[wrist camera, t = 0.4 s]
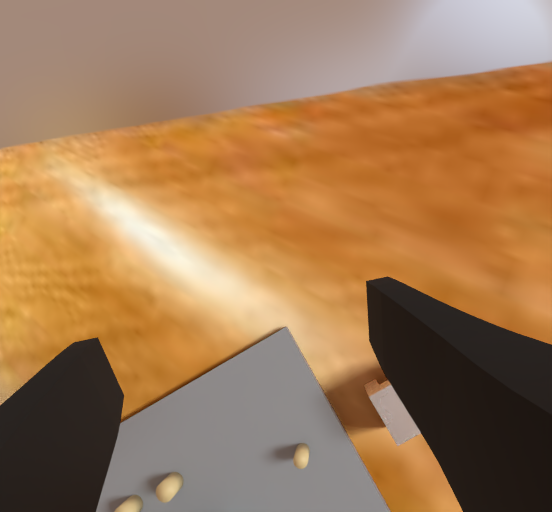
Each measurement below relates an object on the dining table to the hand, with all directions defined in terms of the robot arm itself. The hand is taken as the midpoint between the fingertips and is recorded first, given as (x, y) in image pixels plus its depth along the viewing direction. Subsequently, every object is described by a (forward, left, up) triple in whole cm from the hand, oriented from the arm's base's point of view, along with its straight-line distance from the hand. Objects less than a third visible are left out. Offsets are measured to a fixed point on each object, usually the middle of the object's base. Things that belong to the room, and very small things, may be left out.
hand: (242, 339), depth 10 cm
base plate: (-9, +14, -26) cm, 31 cm away
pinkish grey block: (-9, -4, -26) cm, 28 cm away
